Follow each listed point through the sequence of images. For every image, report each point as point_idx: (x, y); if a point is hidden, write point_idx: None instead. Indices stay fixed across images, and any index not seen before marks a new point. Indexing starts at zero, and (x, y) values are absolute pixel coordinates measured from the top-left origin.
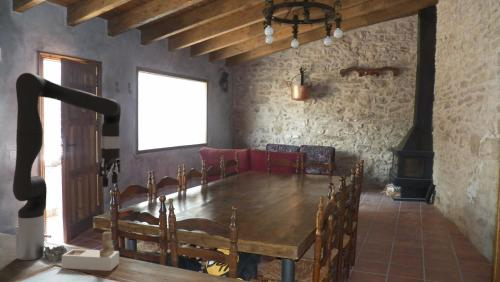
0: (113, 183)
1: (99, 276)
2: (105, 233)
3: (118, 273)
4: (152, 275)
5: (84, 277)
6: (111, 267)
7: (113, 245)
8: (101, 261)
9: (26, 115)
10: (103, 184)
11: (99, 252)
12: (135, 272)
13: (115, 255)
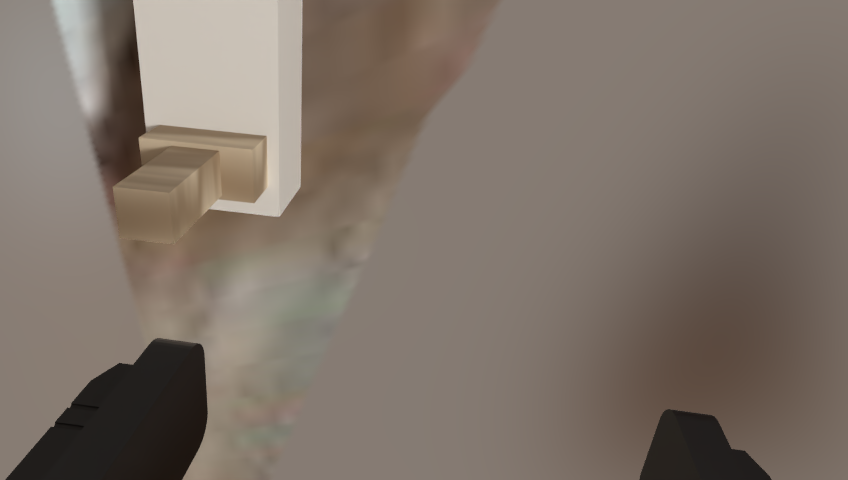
0: (658, 429)
1: (103, 137)
2: (116, 211)
3: None
4: None
5: (68, 58)
6: None
7: (251, 199)
8: None
9: None
10: (90, 401)
11: (232, 93)
12: (194, 299)
13: (225, 206)
